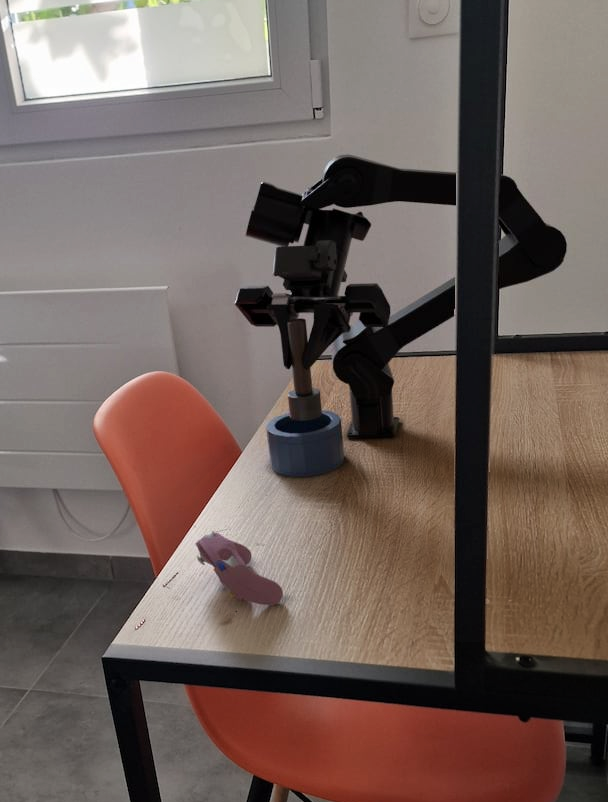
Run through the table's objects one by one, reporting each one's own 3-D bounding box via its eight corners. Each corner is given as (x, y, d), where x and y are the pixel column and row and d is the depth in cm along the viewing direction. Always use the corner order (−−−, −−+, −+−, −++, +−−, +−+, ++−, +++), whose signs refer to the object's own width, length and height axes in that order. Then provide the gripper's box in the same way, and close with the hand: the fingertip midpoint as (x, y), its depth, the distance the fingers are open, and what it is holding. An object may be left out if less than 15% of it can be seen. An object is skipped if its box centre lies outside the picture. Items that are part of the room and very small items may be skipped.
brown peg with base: (293, 410, 105) (283, 317, 100) (324, 409, 104) (316, 315, 99) (287, 421, 102) (276, 326, 97) (318, 420, 101) (309, 324, 96)
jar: (281, 448, 113) (276, 410, 110) (349, 447, 110) (346, 408, 107) (263, 477, 104) (258, 437, 102) (336, 477, 102) (332, 435, 99)
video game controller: (218, 582, 85) (179, 537, 82) (252, 554, 85) (215, 508, 82) (252, 629, 77) (210, 582, 73) (290, 598, 77) (250, 549, 73)
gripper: (231, 220, 100) (198, 333, 97) (376, 210, 92) (347, 335, 88) (267, 271, 110) (239, 377, 106) (402, 267, 101) (376, 382, 97)
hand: (295, 367), depth 99 cm, fingers closed on brown peg with base, 2 cm apart
